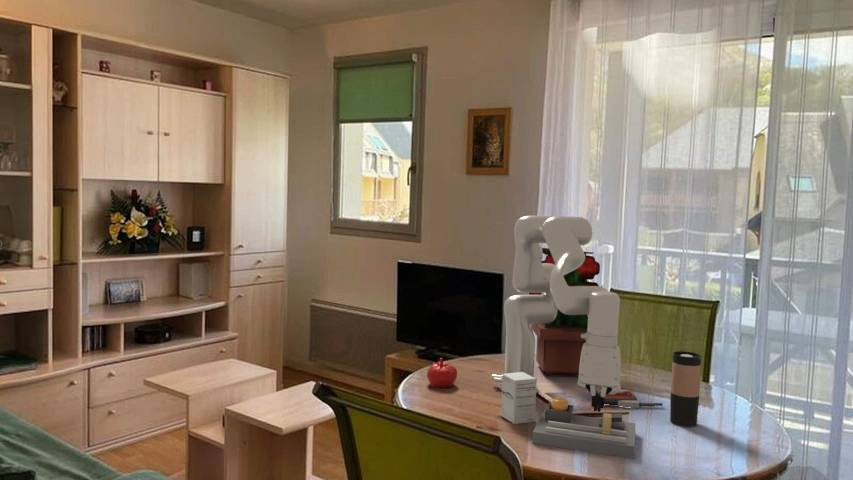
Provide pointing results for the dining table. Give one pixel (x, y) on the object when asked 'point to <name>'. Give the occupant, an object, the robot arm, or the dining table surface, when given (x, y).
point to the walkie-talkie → (625, 399)
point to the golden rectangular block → (606, 424)
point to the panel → (583, 433)
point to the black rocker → (615, 417)
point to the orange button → (559, 404)
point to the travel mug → (685, 388)
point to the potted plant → (564, 326)
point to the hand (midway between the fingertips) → (597, 410)
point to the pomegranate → (442, 374)
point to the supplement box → (518, 397)
